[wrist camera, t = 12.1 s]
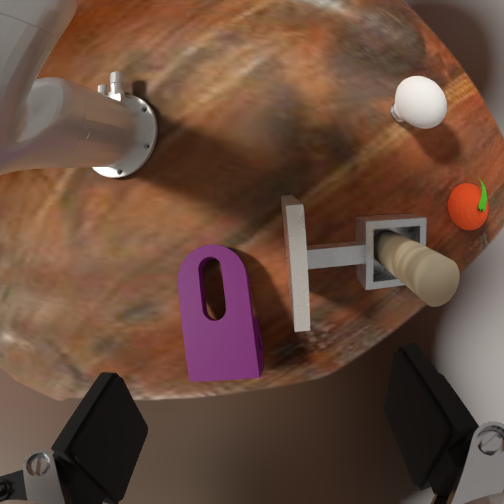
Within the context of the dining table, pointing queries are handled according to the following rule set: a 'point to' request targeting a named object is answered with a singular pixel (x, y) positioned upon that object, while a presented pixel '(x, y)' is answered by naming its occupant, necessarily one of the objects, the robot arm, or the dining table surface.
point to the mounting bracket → (219, 331)
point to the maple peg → (417, 267)
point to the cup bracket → (339, 253)
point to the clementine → (468, 206)
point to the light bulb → (419, 103)
